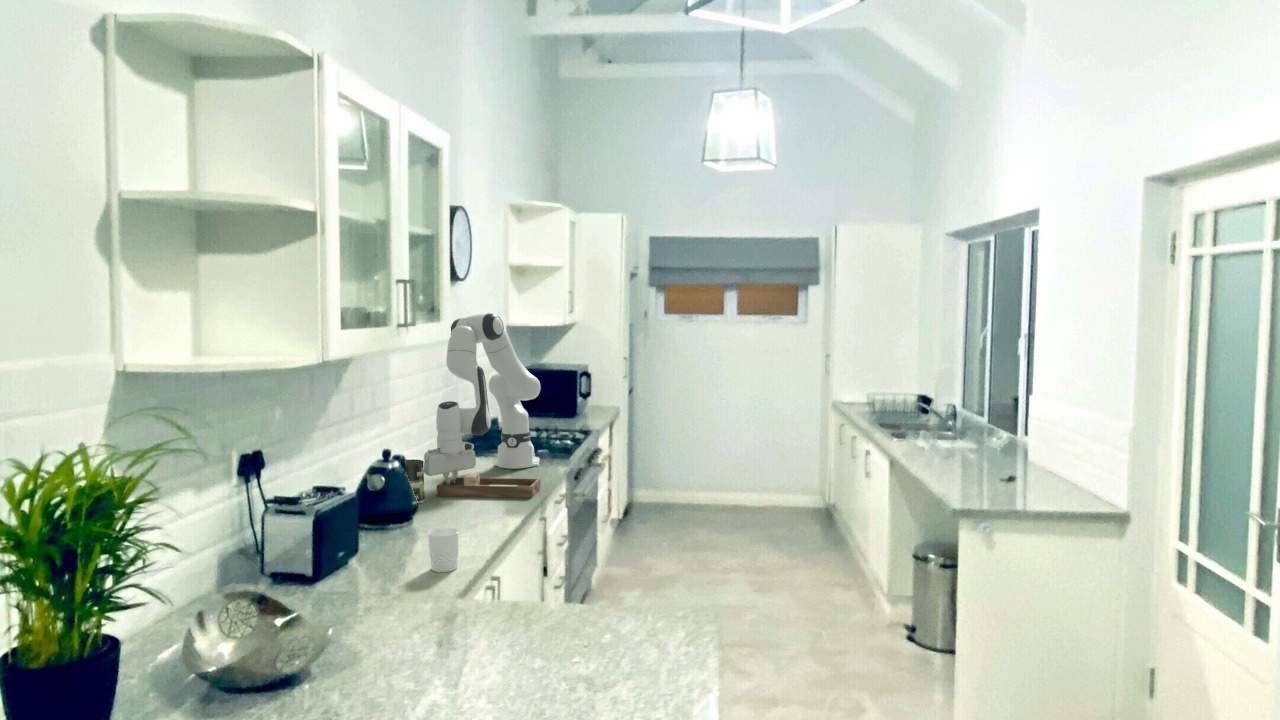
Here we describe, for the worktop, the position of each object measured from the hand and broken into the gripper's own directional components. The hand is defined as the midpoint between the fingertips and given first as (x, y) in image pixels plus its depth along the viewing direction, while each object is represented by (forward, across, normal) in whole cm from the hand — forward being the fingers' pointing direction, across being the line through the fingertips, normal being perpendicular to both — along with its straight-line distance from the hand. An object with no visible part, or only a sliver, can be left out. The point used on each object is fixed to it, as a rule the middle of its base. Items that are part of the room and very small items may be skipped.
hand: (450, 484), depth 322 cm
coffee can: (+3, -18, -1) cm, 18 cm away
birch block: (+1, +5, -6) cm, 8 cm away
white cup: (+3, -49, -75) cm, 90 cm away
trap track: (+3, +9, -11) cm, 15 cm away
